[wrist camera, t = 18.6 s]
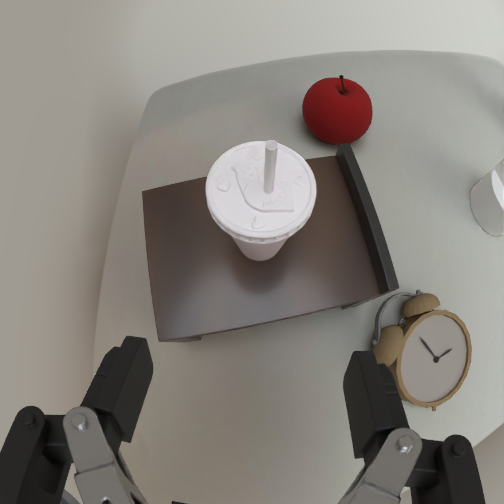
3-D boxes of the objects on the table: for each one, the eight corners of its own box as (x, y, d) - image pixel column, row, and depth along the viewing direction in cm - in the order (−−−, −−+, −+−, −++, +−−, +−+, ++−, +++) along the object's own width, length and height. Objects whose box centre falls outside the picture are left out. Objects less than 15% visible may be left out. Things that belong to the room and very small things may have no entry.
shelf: (183, 342, 33) (150, 341, 22) (166, 225, 37) (135, 181, 26) (358, 305, 34) (399, 287, 23) (326, 195, 38) (349, 142, 27)
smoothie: (261, 293, 25) (266, 234, 12) (206, 241, 27) (161, 144, 13) (312, 238, 26) (360, 140, 13) (257, 191, 28) (258, 72, 14)
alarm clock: (430, 427, 27) (362, 341, 27) (408, 415, 31) (343, 336, 32) (484, 354, 29) (429, 264, 29) (460, 351, 33) (405, 269, 34)
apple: (299, 151, 40) (309, 100, 30) (299, 104, 42) (306, 53, 33) (365, 159, 39) (389, 113, 30) (358, 111, 42) (376, 64, 32)
